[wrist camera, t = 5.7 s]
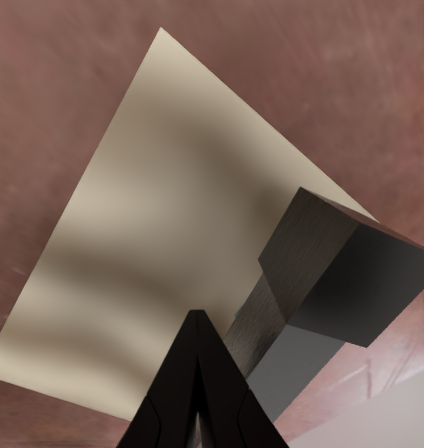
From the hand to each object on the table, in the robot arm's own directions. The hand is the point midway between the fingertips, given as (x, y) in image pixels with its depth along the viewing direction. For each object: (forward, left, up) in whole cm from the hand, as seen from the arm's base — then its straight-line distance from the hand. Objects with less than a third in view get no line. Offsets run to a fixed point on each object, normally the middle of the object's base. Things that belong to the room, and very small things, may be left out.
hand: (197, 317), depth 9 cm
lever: (-3, -3, -3) cm, 6 cm away
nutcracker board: (-4, -1, -5) cm, 6 cm away
